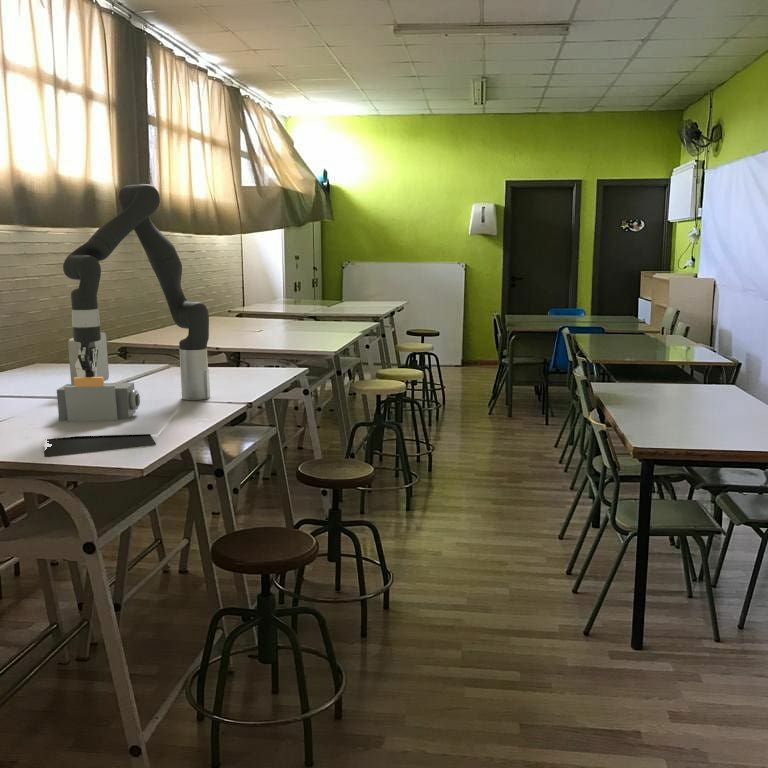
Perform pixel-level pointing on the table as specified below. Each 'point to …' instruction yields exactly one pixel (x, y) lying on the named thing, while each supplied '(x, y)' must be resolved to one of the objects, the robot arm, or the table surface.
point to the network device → (101, 360)
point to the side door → (90, 400)
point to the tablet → (96, 444)
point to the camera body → (124, 399)
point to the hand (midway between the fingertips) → (90, 383)
